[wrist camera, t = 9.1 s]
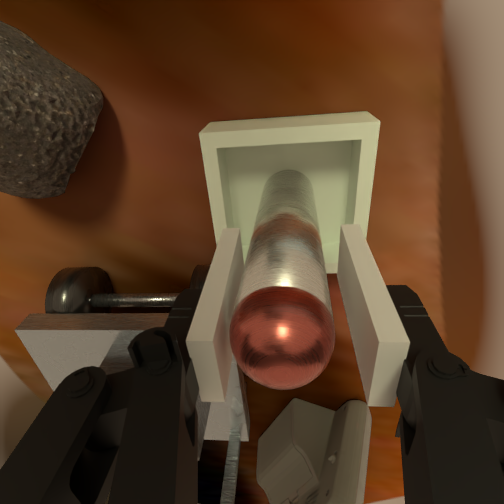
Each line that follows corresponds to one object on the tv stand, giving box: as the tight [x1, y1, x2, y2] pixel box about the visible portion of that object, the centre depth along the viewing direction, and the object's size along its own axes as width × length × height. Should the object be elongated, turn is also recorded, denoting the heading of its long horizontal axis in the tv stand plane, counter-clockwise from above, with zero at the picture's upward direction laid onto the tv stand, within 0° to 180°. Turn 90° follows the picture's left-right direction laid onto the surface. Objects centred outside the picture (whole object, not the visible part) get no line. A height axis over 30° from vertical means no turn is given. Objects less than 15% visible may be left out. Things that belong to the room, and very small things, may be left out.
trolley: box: [15, 265, 250, 504], centre depth 21 cm, size 15×14×17 cm
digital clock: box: [256, 398, 372, 504], centre depth 31 cm, size 16×9×11 cm, turn 145°
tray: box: [199, 111, 380, 273], centre depth 20 cm, size 9×9×3 cm
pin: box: [229, 170, 335, 390], centre depth 15 cm, size 3×3×14 cm
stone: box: [0, 21, 104, 199], centre depth 18 cm, size 10×8×10 cm
